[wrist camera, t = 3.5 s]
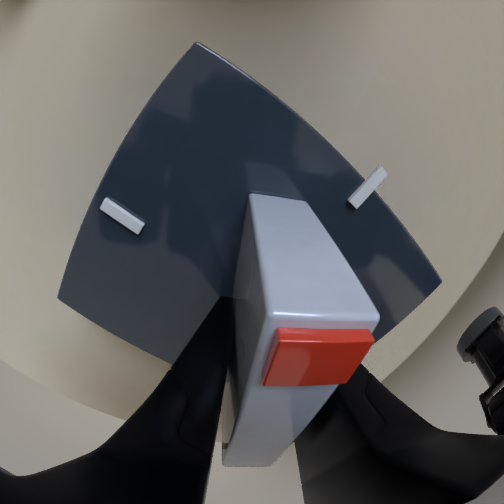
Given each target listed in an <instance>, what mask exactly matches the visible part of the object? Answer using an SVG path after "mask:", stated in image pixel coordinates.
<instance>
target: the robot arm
mask: <svg viewBox="0 0 504 504" xmlns="http://www.w3.org/2000/svg"><path fill="white" fill-rule="evenodd" d="M234 331H235V309H234V298H233V297H227V296H220V297H219V299H218V300H217V301H216V303H215V304H214V306H213V307H212V309H211V310H210V312H209V313H208V315H207V316H206V317H205V319H204V320H203V322H202V323H201V325H200V326H199V328H198V329H197V330H196V332H195V333H194V335H193V336H192V338H191V339H190V341H189V342H188V343H187V345H186V346H185V348H184V349H183V351H182V352H181V354H180V355H179V356H178V358H177V359H176V361H175V362H174V364H173V365H172V367H171V370H169V371H168V372H167V374H166V375H165V376H164V378H163V379H162V381H161V382H160V383H159V385H158V386H157V387H156V389H155V390H154V391H153V393H152V394H151V395H150V396H149V397H148V398H147V399H146V401H145V402H144V403H143V404H142V405H141V406H140V407H139V408H138V409H137V410H136V412H135V413H134V414H133V415H132V416H131V417H130V418H129V419H128V420H127V421H126V422H125V423H124V424H123V425H122V426H121V427H120V428H119V429H118V430H117V431H116V432H115V434H113V435H112V436H111V437H110V438H109V439H108V440H107V441H106V442H105V443H104V444H103V445H101V446H100V447H99V448H97V449H96V450H94V451H92V452H91V453H88V454H86V455H83V456H81V457H79V458H76V459H74V460H71V461H69V462H66V463H64V464H61V465H58V466H56V467H53V468H50V469H47V470H44V471H41V472H38V473H35V474H32V475H27V476H15V475H13V474H12V473H10V472H8V471H6V470H5V469H3V468H1V467H0V504H204V503H205V498H206V492H207V485H208V480H209V474H210V468H211V463H212V457H213V451H214V446H215V440H216V434H217V428H218V423H219V417H220V411H221V406H222V400H223V394H224V389H225V383H226V377H227V372H228V366H229V360H230V354H231V348H232V343H233V337H234ZM464 352H465V354H466V355H467V357H468V358H469V360H470V361H471V362H472V364H473V363H476V365H477V367H478V368H479V370H480V372H481V373H482V375H483V377H484V378H485V380H486V382H487V383H488V385H489V388H488V389H487V390H486V391H485V392H484V393H482V394H481V395H480V396H479V397H480V398H479V400H480V402H481V404H482V408H483V410H484V413H485V417H486V421H487V426H488V428H492V429H493V431H494V432H495V433H497V434H498V435H479V434H478V435H477V434H466V433H456V432H448V431H443V430H440V429H438V428H436V427H434V426H432V425H431V424H430V423H428V422H427V421H426V420H424V419H423V418H422V417H421V416H419V415H418V414H417V413H415V412H414V411H413V410H412V409H410V408H409V407H408V406H407V405H406V404H404V403H403V402H402V401H401V400H399V399H398V398H397V397H396V396H395V395H394V394H392V393H391V392H390V391H389V390H388V389H387V388H386V387H385V386H383V384H382V383H380V382H379V381H378V380H377V379H376V378H375V377H374V376H373V375H372V374H371V373H369V371H368V370H367V369H366V368H365V367H364V366H363V365H362V364H361V363H360V365H359V366H358V368H357V369H356V371H355V372H354V373H353V375H352V376H351V378H350V379H349V380H348V382H347V383H345V384H339V385H338V387H337V388H336V389H335V391H334V392H333V394H332V395H331V396H330V398H329V399H328V400H327V402H326V403H325V404H324V406H323V407H322V408H321V409H320V411H319V412H318V413H317V415H316V416H315V417H314V418H313V419H312V421H311V422H310V423H309V424H308V426H307V427H306V428H305V429H304V430H303V432H302V433H301V434H300V435H299V436H298V437H297V438H296V440H295V441H294V442H295V447H296V454H297V460H298V465H299V472H300V478H301V484H302V491H303V496H304V503H305V504H504V387H503V388H502V389H501V390H500V391H499V392H498V393H497V394H495V393H496V392H497V391H498V390H499V389H500V388H501V387H502V386H503V385H504V325H503V319H502V316H501V315H499V316H498V317H497V318H496V319H495V320H494V321H493V322H492V323H491V324H490V325H489V327H488V328H487V329H486V330H485V331H484V332H483V333H482V334H481V335H480V336H479V337H478V338H477V339H476V340H475V341H474V342H473V343H472V344H471V345H470V346H469V347H467V348H466V349H465V351H464ZM494 394H495V395H494ZM493 395H494V396H493Z"/></svg>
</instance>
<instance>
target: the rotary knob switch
mask: <svg viewBox="0 0 504 504" xmlns="http://www.w3.org/2000/svg"><path fill="white" fill-rule="evenodd" d="M387 176H388V174H387V172H386V171H385V170H384V169H383V168H382V166H380V165H379V166H378V167H377V168H376V169H375V170H374V171H373V172H372V173H371V174H370V176H369V177H368V178H367V179H366V180H365V179H364V178H363V177H362V176H361V175H360V174H359V173H358V172H357V170H356V169H355V168H354V167H353V166H352V165H351V164H350V163H349V162H348V161H347V160H346V159H345V158H344V157H343V156H342V155H341V154H340V153H339V152H338V151H337V150H336V149H335V148H334V147H333V146H332V145H331V144H330V143H329V142H328V141H327V140H326V139H325V138H324V137H323V136H322V135H320V134H319V133H318V132H317V131H316V130H315V129H314V128H313V127H312V126H311V125H310V124H308V123H307V122H306V121H305V120H304V119H303V118H302V117H301V116H299V115H298V114H297V113H296V112H295V111H294V110H292V109H291V108H290V107H289V106H288V105H286V104H285V103H284V102H283V101H282V100H280V99H279V98H278V97H277V96H275V95H274V94H273V93H272V92H270V91H269V90H268V89H267V88H265V87H264V86H263V85H261V84H260V83H259V82H257V81H256V80H255V79H253V78H252V77H251V76H249V75H248V74H246V73H245V72H244V71H242V70H241V69H239V68H238V67H236V66H235V65H234V64H232V63H231V62H229V61H228V60H226V59H225V58H223V57H222V56H220V55H219V54H217V53H215V52H214V51H212V50H211V49H209V48H208V47H206V46H204V45H203V44H201V43H199V42H196V43H194V44H193V45H192V46H191V47H190V49H189V50H188V51H187V52H186V53H185V54H184V56H183V57H182V58H181V59H180V60H179V62H178V63H177V64H176V65H175V66H174V68H173V69H172V70H171V71H170V73H169V74H168V75H167V77H166V78H165V79H164V80H163V82H162V83H161V84H160V86H159V87H158V88H157V90H156V91H155V93H154V94H153V95H152V97H151V98H150V100H149V101H148V102H147V104H146V105H145V107H144V108H143V110H142V111H141V113H140V114H139V116H138V117H137V119H136V120H135V122H134V124H133V125H132V127H131V128H130V130H129V132H128V133H127V135H126V137H125V138H124V140H123V142H122V143H121V145H120V147H119V149H118V150H117V152H116V154H115V156H114V157H113V159H112V161H111V163H110V165H109V167H108V169H107V171H106V173H105V174H104V176H103V178H102V180H101V182H100V184H99V187H98V189H97V191H96V193H95V195H94V197H93V199H92V201H91V204H90V206H89V208H88V211H87V213H86V215H85V218H84V220H83V222H82V225H81V227H80V230H79V232H78V235H77V238H76V240H75V243H74V246H73V248H72V251H71V254H70V257H69V260H68V263H67V266H66V269H65V272H64V275H63V279H62V282H61V286H60V289H59V293H58V297H57V298H58V299H59V300H60V301H62V302H63V303H65V304H66V305H68V306H69V307H71V308H72V309H74V310H75V311H77V312H78V313H80V314H81V315H83V316H84V317H86V318H87V319H89V320H91V321H92V322H94V323H95V324H97V325H99V326H100V327H102V328H104V329H105V330H107V331H109V332H111V333H112V334H114V335H116V336H118V337H119V338H121V339H123V340H125V341H127V342H128V343H130V344H132V345H134V346H136V347H138V348H140V349H142V350H144V351H146V352H148V353H150V354H152V355H154V356H156V357H158V358H160V359H162V360H164V361H166V362H168V363H170V364H172V365H173V364H174V362H175V361H176V359H177V358H178V356H179V355H180V354H181V352H182V351H183V349H184V348H185V346H186V345H187V343H188V342H189V341H190V339H191V338H192V336H193V335H194V333H195V332H196V330H197V329H198V328H199V326H200V325H201V323H202V322H203V320H204V319H205V317H206V316H207V315H208V313H209V312H210V310H211V309H212V307H213V306H214V304H215V303H216V301H217V300H218V299H219V297H220V296H227V297H232V296H233V289H234V283H235V277H236V270H237V264H238V257H239V251H240V245H241V239H242V232H243V226H244V220H245V214H246V208H247V202H248V196H249V195H250V194H252V193H253V194H260V195H267V196H274V197H281V198H287V199H294V200H300V201H305V202H307V203H308V204H309V206H310V207H311V208H312V210H313V211H314V213H315V214H316V216H317V217H318V218H319V220H320V221H321V223H322V224H323V226H324V227H325V228H326V230H327V231H328V233H329V234H330V236H331V237H332V239H333V240H334V242H335V243H336V245H337V246H338V248H339V249H340V251H341V252H342V254H343V255H344V257H345V258H346V260H347V262H348V263H349V265H350V266H351V268H352V269H353V271H354V273H355V274H356V276H357V277H358V279H359V281H360V282H361V284H362V285H363V287H364V289H365V290H366V292H367V294H368V295H369V297H370V299H371V300H372V302H373V304H374V305H375V307H376V309H377V310H378V312H379V314H380V319H379V322H378V324H377V326H376V328H375V329H374V331H373V333H372V335H373V337H374V339H375V341H374V343H373V344H375V343H376V342H377V341H378V340H380V339H381V338H382V337H383V336H384V335H386V334H387V333H388V332H389V331H390V330H392V329H393V328H394V327H395V326H396V325H397V324H399V323H400V322H401V321H402V320H403V319H404V318H405V317H407V316H408V315H409V314H410V313H411V312H412V311H413V310H414V309H415V308H416V307H417V306H419V305H420V304H421V303H422V302H423V301H424V300H425V299H426V298H427V297H428V296H429V295H430V294H431V293H432V292H433V291H434V290H435V289H436V288H437V287H438V286H439V285H440V284H441V283H442V279H441V278H440V276H439V275H438V273H437V272H436V270H435V268H434V267H433V265H432V264H431V263H430V261H429V260H428V258H427V257H426V255H425V254H424V252H423V251H422V250H421V248H420V247H419V245H418V244H417V243H416V241H415V240H414V239H413V237H412V236H411V235H410V233H409V232H408V231H407V229H406V228H405V227H404V225H403V224H402V223H401V222H400V220H399V219H398V218H397V217H396V215H395V214H394V213H393V212H392V210H391V209H390V208H389V207H388V206H387V204H386V203H385V202H384V201H383V200H382V198H381V197H380V196H379V195H378V194H377V193H376V191H375V189H376V188H377V187H378V186H379V184H380V183H381V182H382V181H383V180H384V179H385V178H386V177H387Z"/></svg>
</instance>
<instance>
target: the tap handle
mask: <svg viewBox="0 0 504 504" xmlns="http://www.w3.org/2000/svg"><path fill="white" fill-rule="evenodd" d="M232 297H233V298H234V309H235V331H234V337H233V343H232V348H231V354H230V360H229V366H228V372H227V377H226V383H225V389H224V394H223V400H222V465H223V466H228V467H259V466H260V467H263V466H271V465H272V464H273V463H274V462H275V461H276V460H277V459H278V458H279V457H280V456H281V455H282V454H283V453H284V452H285V451H286V450H287V449H288V447H289V446H290V445H291V444H292V443H293V442H294V441H295V440H296V438H297V437H298V436H299V435H300V434H301V433H302V432H303V430H304V429H305V428H306V427H307V426H308V424H309V423H310V422H311V421H312V419H313V418H314V417H315V416H316V415H317V413H318V412H319V411H320V409H321V408H322V407H323V406H324V404H325V403H326V402H327V400H328V399H329V398H330V396H331V395H332V394H333V392H334V391H335V389H336V388H337V387H338V385H339V384H345V383H347V382H348V380H349V379H350V378H351V376H352V375H353V373H354V372H355V371H356V369H357V368H358V366H359V365H360V363H361V362H362V360H363V359H364V357H365V356H366V354H367V353H368V351H369V350H370V348H371V346H372V345H373V343H374V341H375V339H374V337H373V335H372V333H373V331H374V329H375V328H376V326H377V324H378V322H379V319H380V314H379V312H378V310H377V309H376V307H375V305H374V304H373V302H372V300H371V299H370V297H369V295H368V294H367V292H366V290H365V289H364V287H363V285H362V284H361V282H360V281H359V279H358V277H357V276H356V274H355V273H354V271H353V269H352V268H351V266H350V265H349V263H348V262H347V260H346V258H345V257H344V255H343V254H342V252H341V251H340V249H339V248H338V246H337V245H336V243H335V242H334V240H333V239H332V237H331V236H330V234H329V233H328V231H327V230H326V228H325V227H324V226H323V224H322V223H321V221H320V220H319V218H318V217H317V216H316V214H315V213H314V211H313V210H312V208H311V207H310V206H309V204H308V203H307V202H305V201H300V200H294V199H287V198H281V197H274V196H267V195H260V194H253V193H252V194H250V195H249V196H248V202H247V208H246V214H245V220H244V226H243V232H242V239H241V245H240V251H239V257H238V264H237V270H236V277H235V283H234V289H233V296H232Z"/></svg>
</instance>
